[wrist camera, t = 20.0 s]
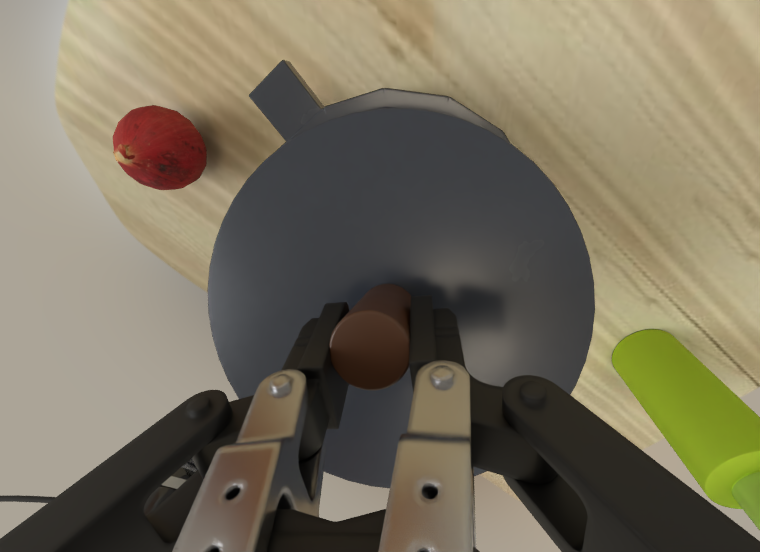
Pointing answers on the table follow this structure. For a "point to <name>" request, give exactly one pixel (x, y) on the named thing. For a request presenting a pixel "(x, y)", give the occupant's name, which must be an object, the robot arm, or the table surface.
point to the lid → (399, 267)
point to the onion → (159, 148)
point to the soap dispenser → (696, 417)
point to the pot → (341, 103)
